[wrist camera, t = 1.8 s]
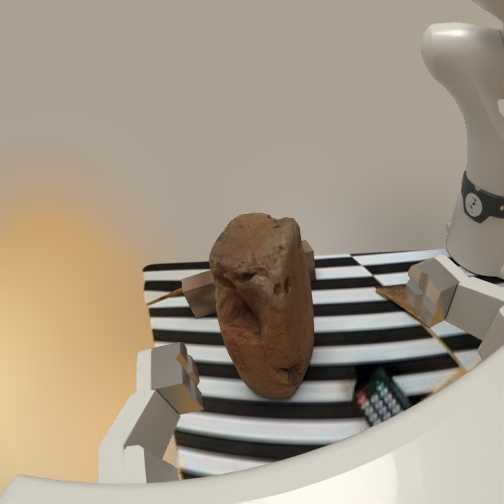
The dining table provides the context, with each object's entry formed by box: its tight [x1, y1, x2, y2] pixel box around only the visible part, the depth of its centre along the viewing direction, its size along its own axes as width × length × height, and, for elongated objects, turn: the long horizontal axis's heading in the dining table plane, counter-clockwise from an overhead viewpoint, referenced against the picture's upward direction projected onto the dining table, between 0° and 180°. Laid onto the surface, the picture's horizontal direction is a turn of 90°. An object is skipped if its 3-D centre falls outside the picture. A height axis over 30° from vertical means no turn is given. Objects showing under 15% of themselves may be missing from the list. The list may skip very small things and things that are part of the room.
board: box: [182, 240, 316, 319], centre depth 46 cm, size 20×3×6 cm, turn 104°
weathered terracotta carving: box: [209, 213, 314, 399], centre depth 30 cm, size 11×8×20 cm
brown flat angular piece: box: [375, 284, 430, 328], centre depth 40 cm, size 11×8×2 cm
